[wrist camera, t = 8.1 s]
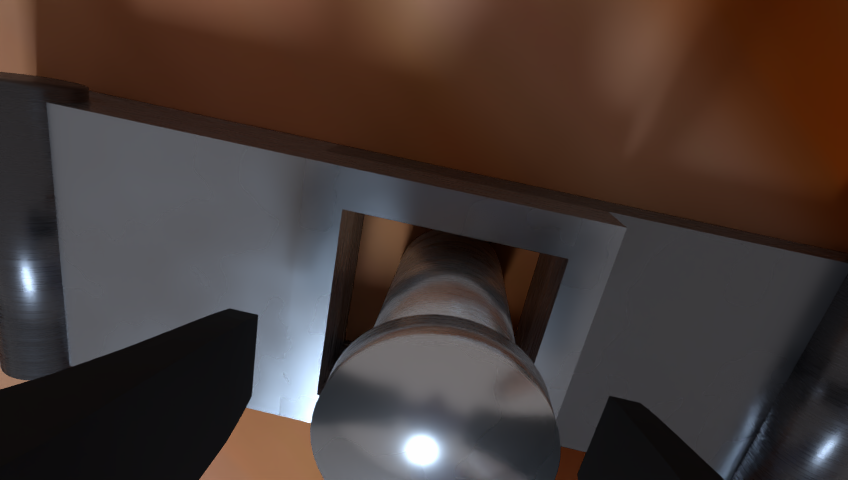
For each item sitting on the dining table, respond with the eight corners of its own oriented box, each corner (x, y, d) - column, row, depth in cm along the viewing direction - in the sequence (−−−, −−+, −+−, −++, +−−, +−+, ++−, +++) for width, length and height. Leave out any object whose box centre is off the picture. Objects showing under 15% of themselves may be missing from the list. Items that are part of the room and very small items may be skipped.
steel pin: (492, 347, 14) (514, 566, 8) (374, 314, 14) (293, 505, 8) (533, 234, 13) (600, 383, 6) (402, 198, 13) (333, 309, 6)
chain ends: (796, 478, 15) (887, 587, 11) (57, 306, 16) (-51, 362, 12) (934, 260, 12) (1102, 321, 9) (34, 68, 13) (-111, 60, 10)
